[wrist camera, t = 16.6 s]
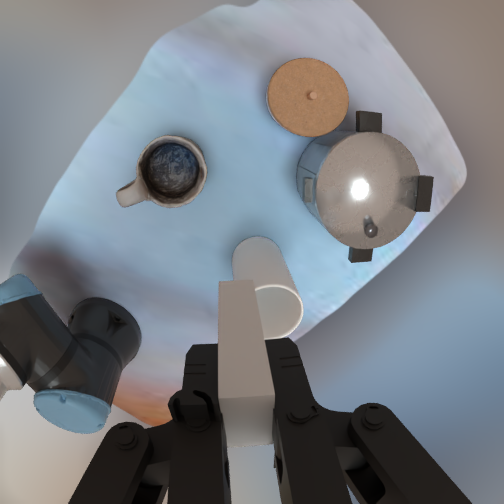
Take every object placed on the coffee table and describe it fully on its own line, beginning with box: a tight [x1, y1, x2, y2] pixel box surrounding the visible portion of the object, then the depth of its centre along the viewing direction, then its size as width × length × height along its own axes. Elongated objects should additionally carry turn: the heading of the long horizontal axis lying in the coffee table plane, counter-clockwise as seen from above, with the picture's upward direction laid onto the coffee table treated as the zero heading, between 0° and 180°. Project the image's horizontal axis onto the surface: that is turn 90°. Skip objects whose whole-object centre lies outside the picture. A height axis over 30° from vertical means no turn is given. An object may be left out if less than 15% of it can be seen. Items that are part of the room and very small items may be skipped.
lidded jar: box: [266, 58, 349, 137], centre depth 37 cm, size 11×11×9 cm
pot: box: [296, 111, 382, 263], centre depth 42 cm, size 16×21×10 cm
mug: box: [116, 135, 207, 208], centre depth 40 cm, size 10×12×10 cm
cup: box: [232, 236, 303, 340], centre depth 44 cm, size 8×8×16 cm
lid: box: [314, 132, 434, 249], centre depth 36 cm, size 17×15×2 cm
